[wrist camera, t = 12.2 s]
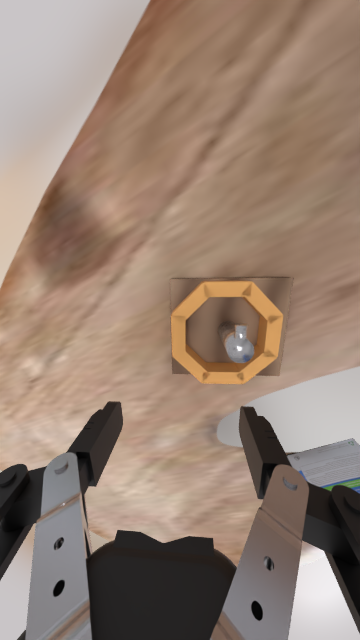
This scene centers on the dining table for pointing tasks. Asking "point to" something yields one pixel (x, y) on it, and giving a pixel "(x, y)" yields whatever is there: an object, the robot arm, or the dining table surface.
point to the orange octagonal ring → (263, 350)
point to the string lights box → (330, 465)
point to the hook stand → (230, 322)
